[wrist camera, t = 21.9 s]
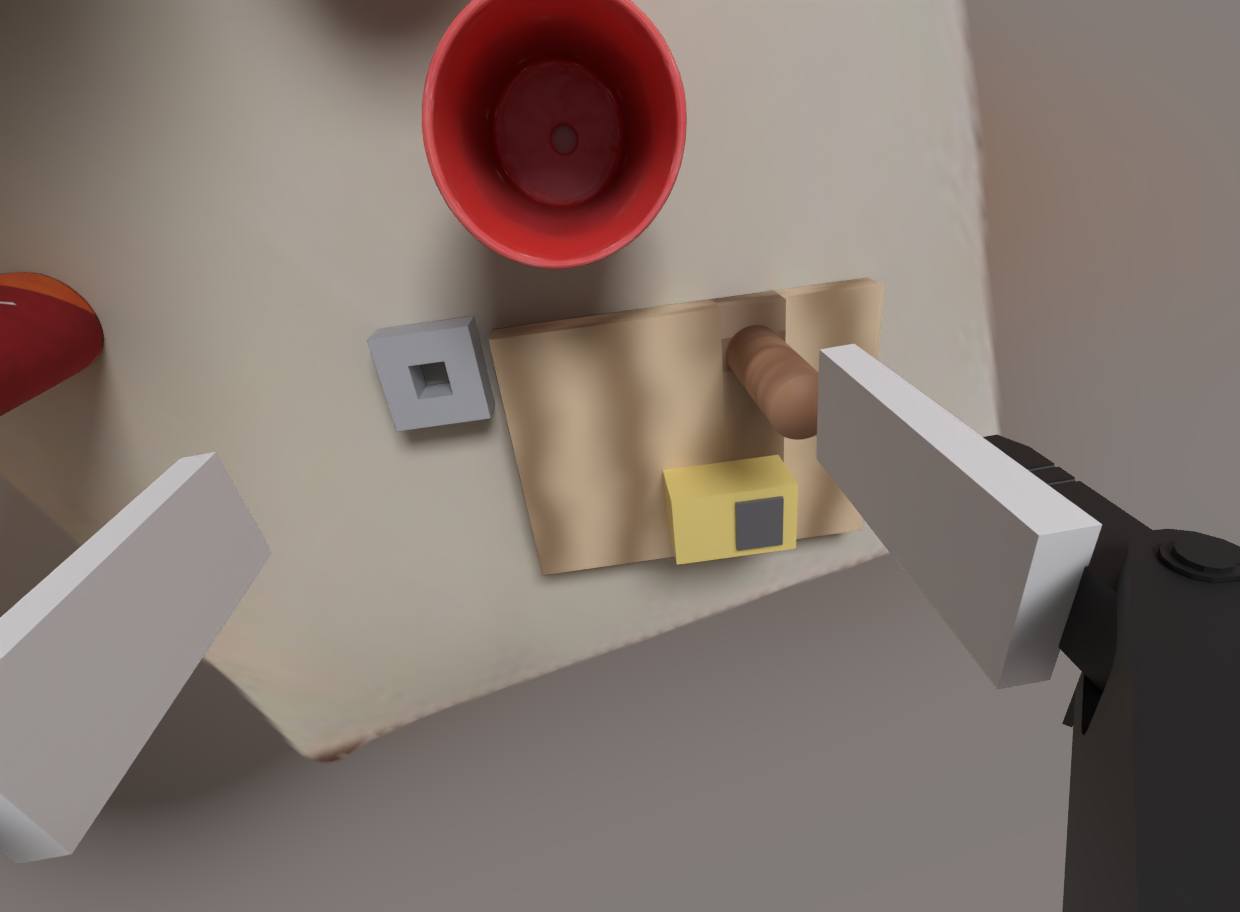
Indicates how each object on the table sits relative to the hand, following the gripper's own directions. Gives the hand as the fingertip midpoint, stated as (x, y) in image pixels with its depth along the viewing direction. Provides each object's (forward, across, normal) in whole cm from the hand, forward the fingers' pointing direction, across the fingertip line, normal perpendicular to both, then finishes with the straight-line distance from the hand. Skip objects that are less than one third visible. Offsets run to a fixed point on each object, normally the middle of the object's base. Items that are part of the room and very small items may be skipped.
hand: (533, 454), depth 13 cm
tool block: (+25, -8, -6) cm, 27 cm away
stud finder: (+22, +9, -18) cm, 30 cm away
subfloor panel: (+25, +7, -14) cm, 29 cm away
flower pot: (+26, +2, +6) cm, 26 cm away
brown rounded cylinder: (+25, +12, -8) cm, 28 cm away
